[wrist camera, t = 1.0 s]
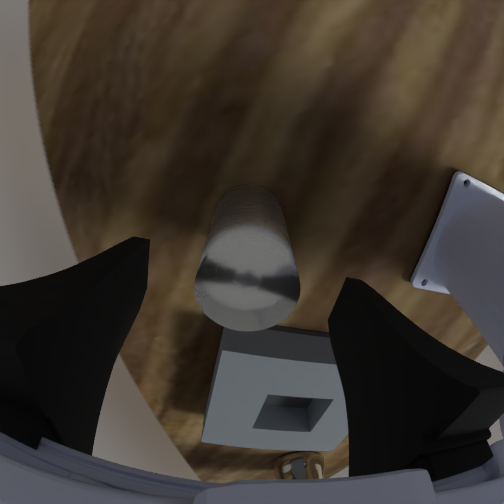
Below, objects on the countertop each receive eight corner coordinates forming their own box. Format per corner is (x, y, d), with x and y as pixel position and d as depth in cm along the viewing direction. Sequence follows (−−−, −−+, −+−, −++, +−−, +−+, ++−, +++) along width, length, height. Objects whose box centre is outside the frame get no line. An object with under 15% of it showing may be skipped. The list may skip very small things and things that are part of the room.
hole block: (387, 339, 21) (400, 368, 19) (328, 425, 27) (332, 450, 24) (225, 317, 20) (222, 350, 17) (204, 414, 25) (201, 441, 23)
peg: (290, 192, 16) (314, 256, 10) (273, 252, 18) (283, 337, 12) (221, 177, 16) (202, 233, 10) (210, 239, 18) (189, 321, 11)
